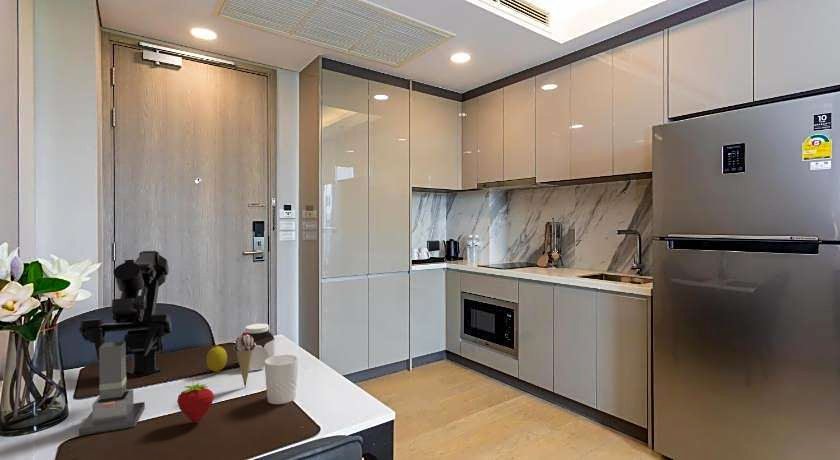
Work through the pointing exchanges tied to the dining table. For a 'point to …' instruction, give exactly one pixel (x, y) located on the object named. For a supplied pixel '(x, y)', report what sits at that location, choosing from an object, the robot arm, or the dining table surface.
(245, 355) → the ice cream cone
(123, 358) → the jack column
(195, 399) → the strawberry
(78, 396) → the dining table surface
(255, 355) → the spread jar
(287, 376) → the white cup
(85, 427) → the jack stand base
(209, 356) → the lemon
